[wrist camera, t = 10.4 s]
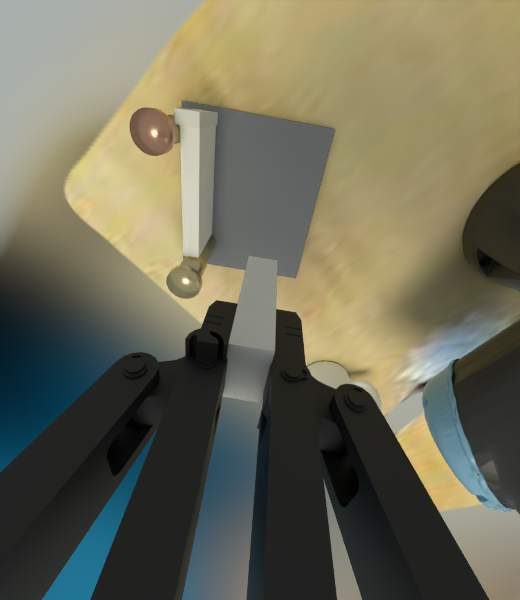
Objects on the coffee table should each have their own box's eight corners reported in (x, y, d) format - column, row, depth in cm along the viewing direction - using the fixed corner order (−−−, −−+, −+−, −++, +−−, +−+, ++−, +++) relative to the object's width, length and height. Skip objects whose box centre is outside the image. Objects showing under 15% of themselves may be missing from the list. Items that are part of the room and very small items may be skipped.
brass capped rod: (206, 112, 27) (170, 111, 18) (205, 144, 28) (171, 159, 19) (178, 107, 27) (127, 103, 18) (179, 139, 28) (132, 152, 19)
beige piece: (213, 234, 32) (198, 261, 26) (198, 231, 32) (179, 258, 26) (217, 112, 26) (199, 112, 20) (198, 109, 25) (174, 107, 20)
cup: (295, 363, 46) (299, 418, 38) (369, 353, 44) (390, 409, 36) (304, 394, 51) (309, 449, 42) (371, 385, 48) (391, 442, 40)
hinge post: (221, 230, 34) (200, 272, 25) (219, 253, 35) (199, 300, 27) (195, 226, 34) (165, 266, 25) (195, 249, 35) (167, 295, 26)
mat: (334, 128, 27) (335, 128, 27) (295, 275, 37) (295, 278, 36) (183, 100, 26) (181, 100, 26) (184, 257, 36) (183, 259, 36)
